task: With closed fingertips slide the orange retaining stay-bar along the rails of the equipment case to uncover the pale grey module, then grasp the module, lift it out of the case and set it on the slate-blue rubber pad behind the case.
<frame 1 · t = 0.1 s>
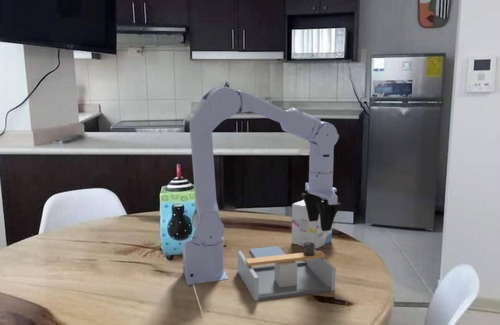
hand: (319, 225, 109), 10 cm above the table, fingers open, 7 cm apart
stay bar: (285, 252, 99), point 8 cm above the table, slide at 0.0 cm
module: (285, 282, 100), resting on case
ink box: (311, 243, 126), on the table
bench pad: (268, 257, 116), on the table
case: (284, 282, 101), on the table
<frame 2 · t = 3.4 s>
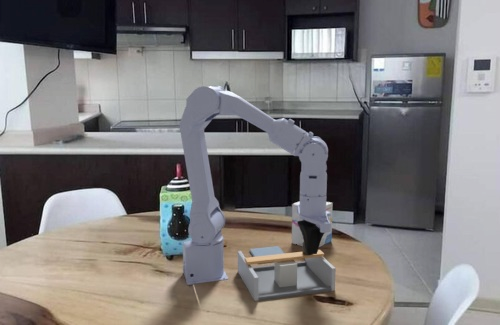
hand: (311, 253, 99), 7 cm above the table, fingers closed
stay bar: (284, 251, 99), point 8 cm above the table, slide at 0.6 cm, touching gripper
everything else where it was.
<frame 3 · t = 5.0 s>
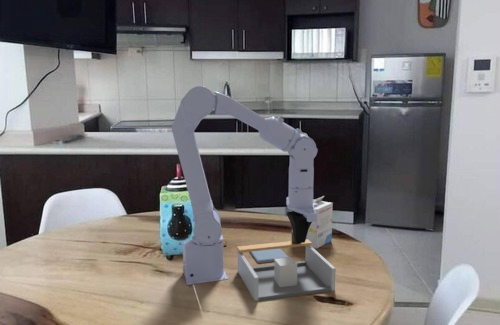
hand: (299, 242, 105), 7 cm above the table, fingers closed
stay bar: (274, 240, 106), point 8 cm above the table, slide at 7.8 cm, touching gripper
everything else where it was.
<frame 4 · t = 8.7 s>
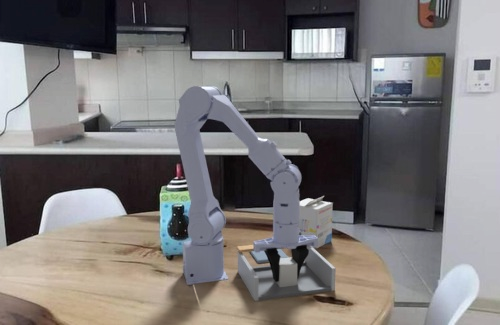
hand: (285, 278, 100), 1 cm above the table, fingers closed on module, 4 cm apart
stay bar: (274, 240, 106), point 8 cm above the table, slide at 7.9 cm
module: (285, 282, 100), resting on case, touching gripper
everything else where it was.
when the fingers open (3 cm above the table, at t = 12.2 s): module stays where it is, resting on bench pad.
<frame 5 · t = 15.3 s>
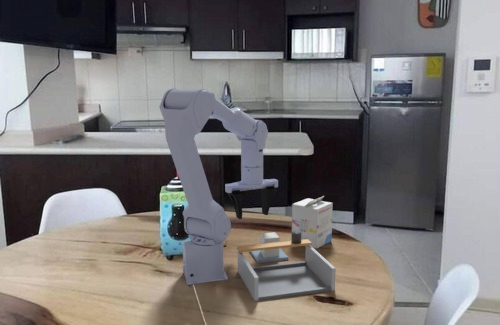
hand: (252, 216, 118), 10 cm above the table, fingers open, 7 cm apart
module: (269, 253, 115), point 1 cm above the table, touching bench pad
everything else where it was.
at the end: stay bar slide at 7.9 cm; module inside the target area on the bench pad (0.7 cm from its centre), point 1.2 cm above the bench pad's base; module tilted 0° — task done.
